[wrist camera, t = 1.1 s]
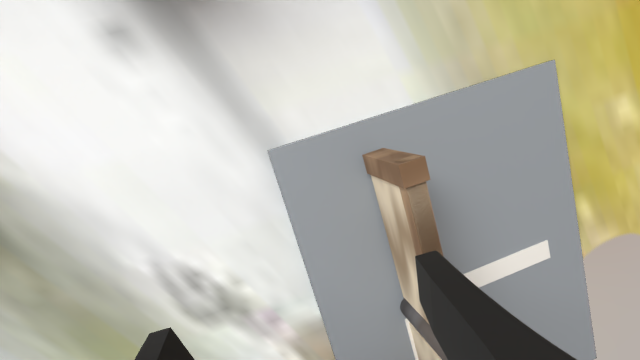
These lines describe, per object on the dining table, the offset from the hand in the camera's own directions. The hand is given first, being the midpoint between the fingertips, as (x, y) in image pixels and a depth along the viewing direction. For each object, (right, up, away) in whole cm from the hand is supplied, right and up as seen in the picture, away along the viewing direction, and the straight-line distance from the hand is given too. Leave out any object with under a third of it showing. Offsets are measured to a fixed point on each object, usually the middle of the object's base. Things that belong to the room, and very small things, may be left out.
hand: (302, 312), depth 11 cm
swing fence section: (+5, +1, +13) cm, 14 cm away
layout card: (+10, -2, +15) cm, 18 cm away
